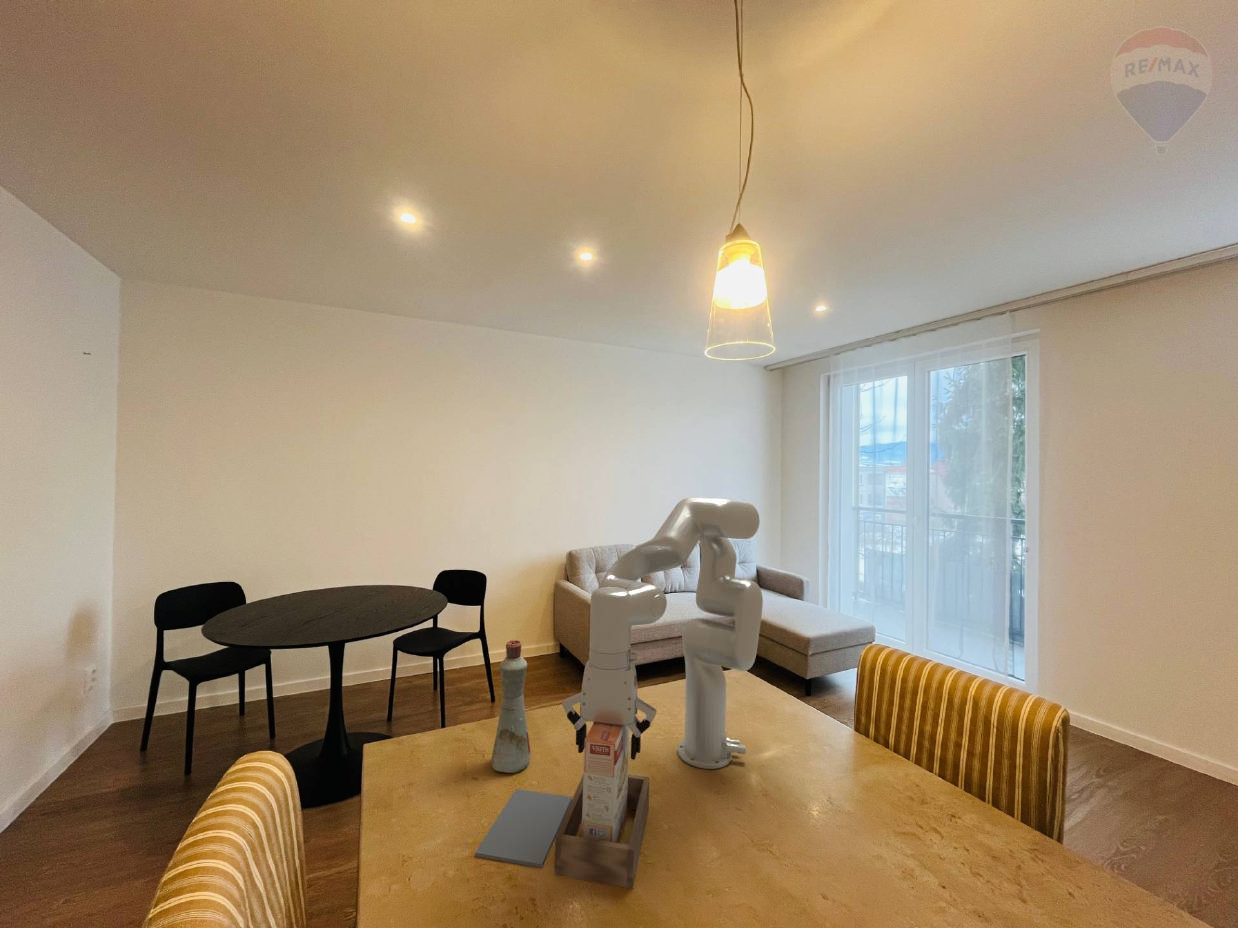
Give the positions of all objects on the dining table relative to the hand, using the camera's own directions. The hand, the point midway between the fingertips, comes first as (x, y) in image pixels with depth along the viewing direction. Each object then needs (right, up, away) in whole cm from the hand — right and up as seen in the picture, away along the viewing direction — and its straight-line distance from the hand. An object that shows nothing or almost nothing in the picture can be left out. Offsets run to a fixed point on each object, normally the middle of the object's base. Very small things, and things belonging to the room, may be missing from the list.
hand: (607, 752), depth 91 cm
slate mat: (-15, -15, +2) cm, 21 cm away
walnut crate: (0, -15, 0) cm, 15 cm away
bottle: (-22, -16, +22) cm, 35 cm away
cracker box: (0, -16, 0) cm, 16 cm away
